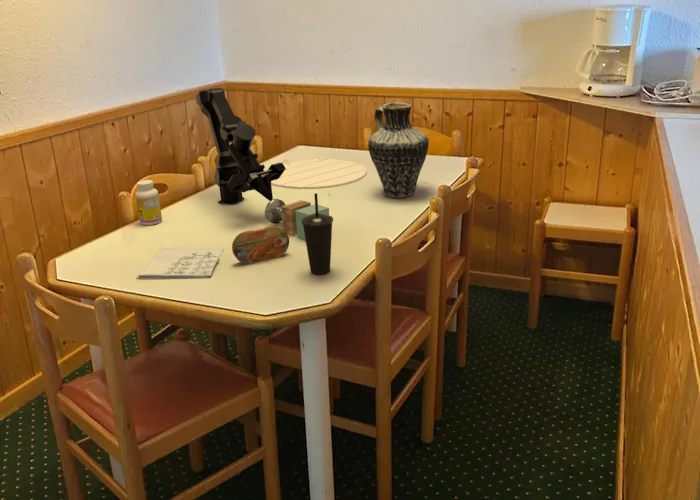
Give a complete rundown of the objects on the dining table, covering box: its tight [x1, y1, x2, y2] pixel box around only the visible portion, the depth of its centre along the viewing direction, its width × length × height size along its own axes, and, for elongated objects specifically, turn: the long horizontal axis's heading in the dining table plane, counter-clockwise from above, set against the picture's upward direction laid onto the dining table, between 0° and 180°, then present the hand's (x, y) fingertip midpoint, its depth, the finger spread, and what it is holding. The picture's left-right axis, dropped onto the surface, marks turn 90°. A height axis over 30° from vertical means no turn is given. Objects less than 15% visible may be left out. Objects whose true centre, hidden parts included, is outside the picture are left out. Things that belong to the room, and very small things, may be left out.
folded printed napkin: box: [135, 246, 225, 280], centre depth 171 cm, size 19×20×2 cm
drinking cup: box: [301, 193, 334, 276], centre depth 159 cm, size 8×8×20 cm
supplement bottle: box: [135, 179, 163, 226], centre depth 200 cm, size 7×7×13 cm
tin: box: [231, 225, 290, 265], centre depth 170 cm, size 15×3×8 cm, turn 117°
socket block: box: [295, 203, 330, 242], centre depth 184 cm, size 6×8×8 cm
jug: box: [367, 101, 429, 198], centre depth 214 cm, size 21×19×30 cm
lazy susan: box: [266, 156, 367, 190], centre depth 247 cm, size 40×39×3 cm
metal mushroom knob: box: [264, 198, 296, 225], centre depth 192 cm, size 11×7×7 cm
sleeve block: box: [281, 200, 311, 237], centre depth 189 cm, size 4×8×8 cm, turn 136°
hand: (271, 199), depth 195 cm, fingers closed
